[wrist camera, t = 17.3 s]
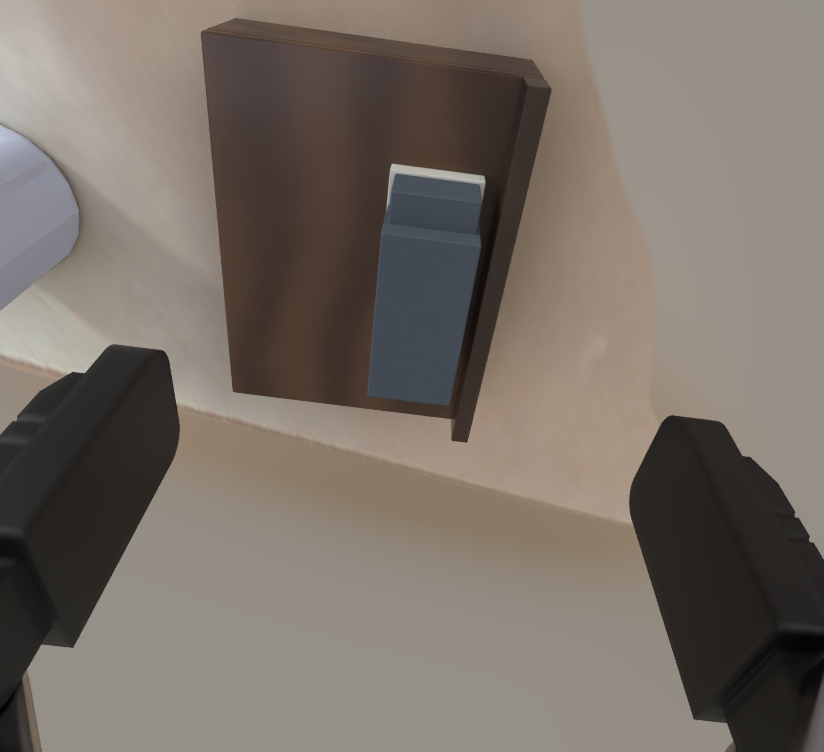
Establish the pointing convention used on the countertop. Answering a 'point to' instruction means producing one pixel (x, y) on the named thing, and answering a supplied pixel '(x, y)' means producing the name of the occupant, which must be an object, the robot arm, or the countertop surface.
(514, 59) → the board
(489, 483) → the countertop surface
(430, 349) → the stepped grey pillar
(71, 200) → the soap bottle
